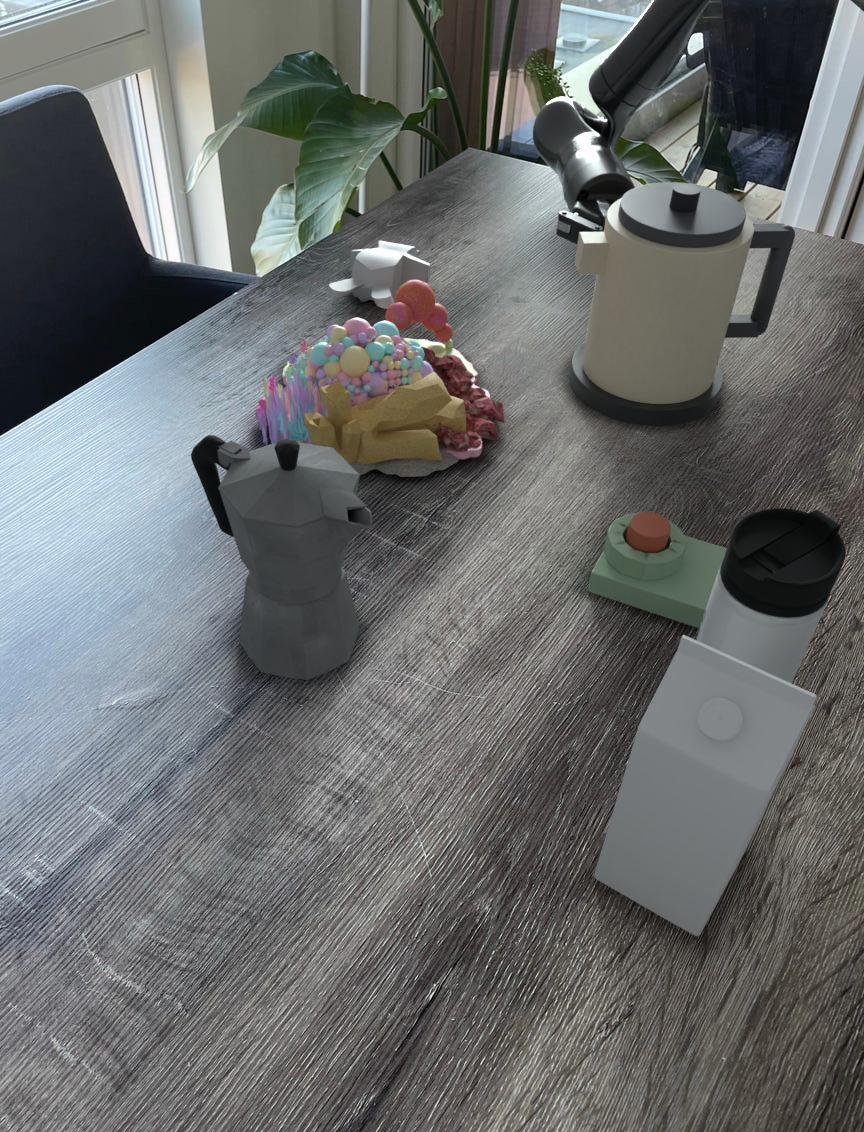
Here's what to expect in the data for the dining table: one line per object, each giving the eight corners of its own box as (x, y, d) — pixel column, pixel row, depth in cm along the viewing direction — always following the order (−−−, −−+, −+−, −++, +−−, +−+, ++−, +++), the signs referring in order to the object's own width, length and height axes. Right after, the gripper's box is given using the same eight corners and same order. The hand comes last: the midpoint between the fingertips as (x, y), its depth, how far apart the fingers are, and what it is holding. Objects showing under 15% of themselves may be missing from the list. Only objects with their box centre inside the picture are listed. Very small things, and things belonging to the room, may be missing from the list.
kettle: (771, 426, 100) (838, 225, 86) (571, 429, 99) (605, 227, 85) (725, 339, 111) (777, 149, 97) (545, 341, 111) (571, 150, 96)
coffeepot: (405, 639, 79) (412, 444, 67) (330, 715, 74) (322, 519, 61) (252, 560, 86) (232, 368, 73) (173, 625, 80) (136, 430, 67)
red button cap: (671, 535, 83) (675, 518, 82) (660, 559, 81) (664, 542, 80) (632, 523, 84) (636, 506, 83) (620, 546, 82) (624, 529, 81)
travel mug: (775, 765, 71) (877, 545, 57) (708, 809, 69) (797, 590, 54) (707, 707, 75) (788, 486, 61) (642, 747, 72) (709, 526, 58)
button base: (782, 587, 84) (797, 550, 81) (760, 650, 79) (775, 613, 76) (617, 535, 88) (625, 498, 86) (586, 592, 83) (594, 555, 81)
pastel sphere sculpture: (539, 460, 96) (552, 372, 89) (295, 513, 90) (289, 423, 83) (437, 330, 112) (442, 247, 105) (225, 367, 106) (216, 283, 100)
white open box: (443, 240, 118) (399, 283, 107) (439, 284, 122) (396, 330, 110) (366, 226, 120) (315, 267, 109) (364, 270, 124) (315, 314, 113)
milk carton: (641, 803, 69) (709, 597, 55) (742, 857, 66) (840, 654, 53) (592, 878, 65) (652, 676, 51) (697, 939, 62) (791, 743, 49)
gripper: (545, 158, 118) (571, 225, 106) (660, 157, 118) (699, 224, 106) (537, 223, 123) (561, 294, 111) (647, 222, 124) (683, 292, 112)
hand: (629, 259), depth 109 cm, fingers closed
